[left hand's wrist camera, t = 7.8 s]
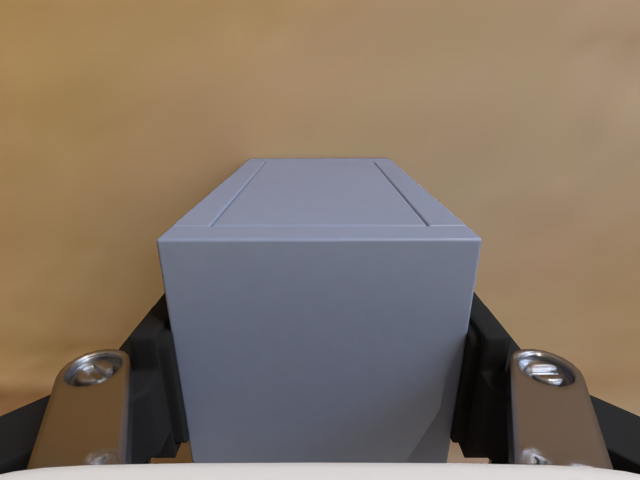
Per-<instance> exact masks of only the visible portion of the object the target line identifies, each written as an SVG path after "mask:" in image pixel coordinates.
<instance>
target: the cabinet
mask: <svg viewBox="0 0 640 480" xmlns="http://www.w3.org/2000/svg"><path fill="white" fill-rule="evenodd" d="M481 242H482V241H481V238H480V237H479V236H478V235H476V234H475V233H474V232H473V231H472V230H471V229H469V228H468V227H466V225H465V224H464V223H463V222H462V221H461V220H459V219H458V218H457V217H456V216H455V215H454V214H452V213H451V212H450V211H449V210H448V209H447V208H445V207H444V206H443V205H442V204H441V203H440V202H439V201H437V200H436V199H435V198H434V197H433V196H432V195H430V194H429V193H428V192H427V191H426V190H425V189H423V188H422V187H421V186H420V185H419V184H418V183H417V182H415V181H414V180H413V179H412V178H411V177H410V176H408V175H407V174H406V173H405V172H404V171H403V170H402V169H400V168H399V167H398V166H397V165H396V164H395V163H393V162H392V161H391V160H390V159H389V158H363V159H249V160H248V161H247V162H246V163H245V164H243V165H242V166H241V167H240V168H239V169H238V170H236V171H235V172H234V173H233V174H232V175H231V176H229V177H228V178H227V179H226V180H225V181H224V182H222V183H221V184H220V185H219V186H218V187H217V188H216V189H214V190H213V191H212V192H211V193H210V194H209V195H207V196H206V197H205V198H204V199H203V200H202V201H200V202H199V203H198V204H197V205H196V206H195V207H193V208H192V209H191V210H190V211H189V212H188V213H186V214H185V215H184V216H183V217H182V218H181V219H180V220H178V221H177V222H176V223H175V224H174V225H173V226H172V227H171V228H170V229H168V230H167V231H166V232H165V233H164V234H163V235H161V236H160V237H159V238H158V239H157V247H158V253H159V259H160V265H161V271H162V277H163V283H164V289H165V296H166V302H167V308H168V314H169V320H170V326H171V332H172V335H173V341H174V347H175V353H176V360H177V366H178V372H179V378H180V384H181V391H182V397H183V403H184V409H185V416H186V422H187V428H188V434H189V443H190V449H191V455H192V461H193V463H447V457H448V451H449V444H450V437H451V431H452V425H453V419H454V412H455V406H456V400H457V394H458V387H459V381H460V375H461V368H462V362H463V356H464V349H465V343H466V337H467V330H468V324H469V318H470V311H471V305H472V299H473V292H474V286H475V280H476V273H477V267H478V261H479V254H480V248H481Z"/></svg>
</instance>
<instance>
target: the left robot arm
mask: <svg viewBox="0 0 640 480" xmlns="http://www.w3.org/2000/svg"><path fill="white" fill-rule="evenodd" d="M450 438H451V440H452V442H454V443H459V445H460V448H461V450H462V452H463V455H464V457H465V458H489V463H488V464H467V463H173V464H152V463H151V458H175V457H176V454H177V452H178V449H179V447H180V444H181V443H186V442H187V441H188V439H189V434H188V428H187V422H186V416H185V409H184V403H183V397H182V391H181V384H180V378H179V372H178V366H177V360H176V353H175V347H174V341H173V335H172V332H171V326H170V320H169V314H168V308H167V302H166V296H165V293H164V295H163V296H162V297H161V298H160V300H159V301H158V302H157V303H156V305H155V306H153V308H152V309H151V310H150V311H149V313H148V314H147V315H146V316H145V318H144V319H143V320H142V321H141V323H140V324H139V325H138V326H137V327H136V329H135V330H134V331H133V332H132V334H131V335H130V336H129V337H128V339H127V340H126V341H125V342H124V344H123V345H122V346H121V347H120V349H119V350H118V349H104V350H97V351H94V352H91V353H87V354H85V355H83V356H80V357H78V358H76V359H74V360H73V361H71V362H70V363H68V364H67V365H66V366H65V367H64V368H63V369H62V370H60V372H59V374H58V375H57V377H56V380H55V383H54V386H53V389H52V392H51V395H49V396H46V397H44V398H42V399H39V400H37V401H35V402H33V403H30V404H28V405H26V406H23V407H21V408H19V409H17V410H14V411H12V412H10V413H7V414H5V415H3V416H1V417H0V480H640V417H639V416H637V415H635V414H632V413H630V412H628V411H626V410H623V409H621V408H619V407H616V406H614V405H612V404H610V403H607V402H605V401H603V400H600V399H598V398H596V397H594V396H591V395H589V392H588V389H587V386H586V383H585V380H584V377H583V375H582V374H581V372H580V370H578V369H577V368H576V367H575V366H574V365H573V364H572V363H570V362H569V361H567V360H566V359H564V358H562V357H560V356H557V355H555V354H553V353H549V352H546V351H543V350H536V349H522V350H521V349H520V348H519V347H518V345H517V344H516V343H515V342H514V340H513V339H512V338H511V337H510V335H509V334H508V333H507V332H506V330H505V329H504V328H503V327H502V325H501V324H500V323H499V322H498V320H497V319H496V318H495V317H494V316H493V314H492V313H491V312H490V311H489V309H488V308H487V307H486V306H485V305H484V304H483V303H482V301H481V300H480V299H479V298H478V296H477V295H476V294H475V293H474V292H473V299H472V305H471V311H470V318H469V324H468V330H467V337H466V343H465V349H464V356H463V362H462V368H461V375H460V381H459V387H458V394H457V400H456V406H455V412H454V419H453V425H452V431H451V437H450Z"/></svg>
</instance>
